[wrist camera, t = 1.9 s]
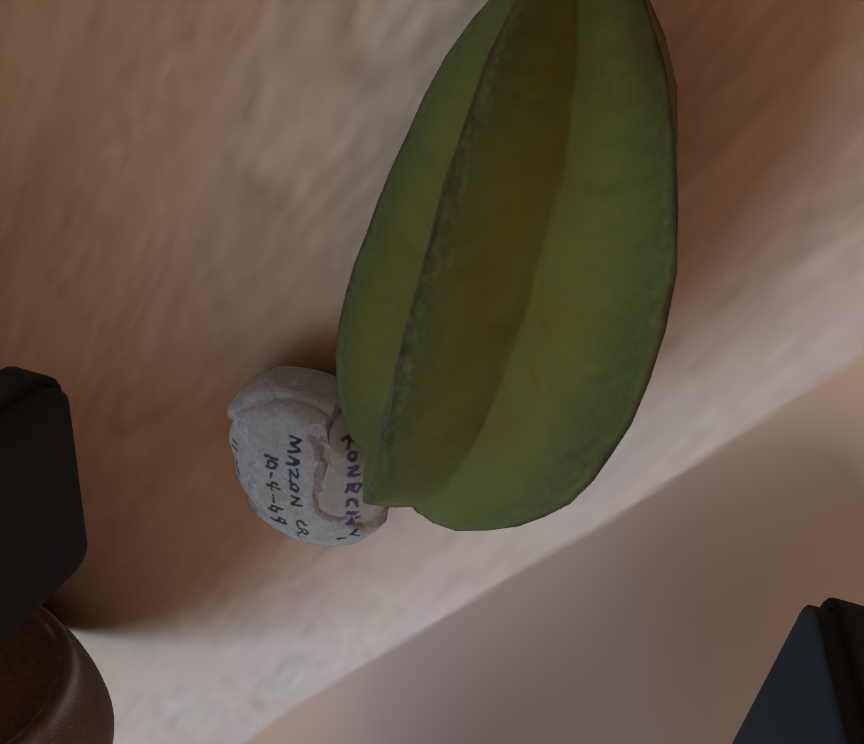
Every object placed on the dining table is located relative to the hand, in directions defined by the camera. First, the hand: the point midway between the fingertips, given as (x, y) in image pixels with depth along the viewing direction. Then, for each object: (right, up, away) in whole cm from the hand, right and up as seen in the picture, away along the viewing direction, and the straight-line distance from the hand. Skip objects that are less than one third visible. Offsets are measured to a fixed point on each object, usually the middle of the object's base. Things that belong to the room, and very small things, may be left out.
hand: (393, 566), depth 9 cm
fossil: (-1, -1, +13) cm, 13 cm away
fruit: (+1, +2, +5) cm, 6 cm away
